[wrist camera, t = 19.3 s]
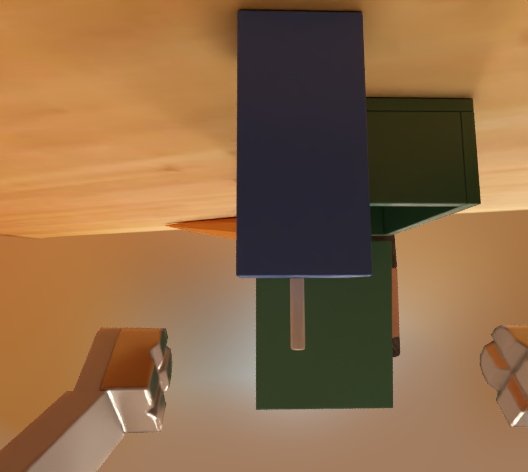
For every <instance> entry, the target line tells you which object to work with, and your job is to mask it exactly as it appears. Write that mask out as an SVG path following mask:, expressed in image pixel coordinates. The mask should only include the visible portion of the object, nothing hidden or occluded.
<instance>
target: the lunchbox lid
mask: <svg viewBox="0 0 528 472" xmlns="http://www.w3.org/2000/svg"><path fill="white" fill-rule="evenodd" d="M371 249H372V276H365V277H351V278H304V312H305V349H304V350H293V349H291V325H290V278H256V409H257V410H274V409H275V410H277V409H278V410H279V409H347V408H348V409H351V408H352V409H353V408H393V370H392V369H393V355H392V242H391V241H371Z"/></svg>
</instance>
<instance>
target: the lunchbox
mask: <svg viewBox="0 0 528 472" xmlns="http://www.w3.org/2000/svg"><path fill="white" fill-rule="evenodd" d="M473 111H474V109H473V99H419V98H366V118H367V144H368V170H369V197H370V223H371V236H392V235H394V234H397V233H400V232H403V231H406V230H408V229H411V228H414V227H417V226H420V225H422V224H425V223H428V222H431V221H434V220H437V219H439V218H442V217H445V216H448V215H451V214H453V213H456V212H459V211H462V210H465V209H467V208H470V207H473V206H476V205H479V204H481V201H480V187H479V174H478V161H477V147H476V134H475V121H474V112H473Z"/></svg>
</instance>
